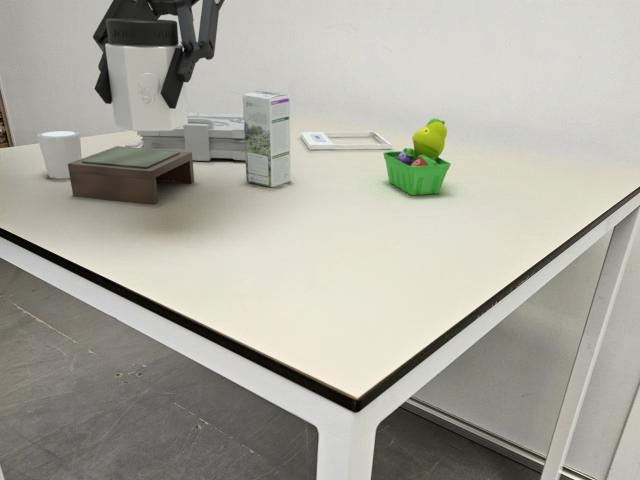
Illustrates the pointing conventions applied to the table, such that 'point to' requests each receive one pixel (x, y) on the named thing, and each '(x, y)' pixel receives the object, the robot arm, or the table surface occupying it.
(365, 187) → the table surface
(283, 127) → the syrup box
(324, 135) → the photo frame
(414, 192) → the fruit basket
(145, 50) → the jar
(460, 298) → the table surface
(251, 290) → the table surface
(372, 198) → the table surface
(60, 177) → the white cup
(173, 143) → the grey plastic tool case
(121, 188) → the shelf
